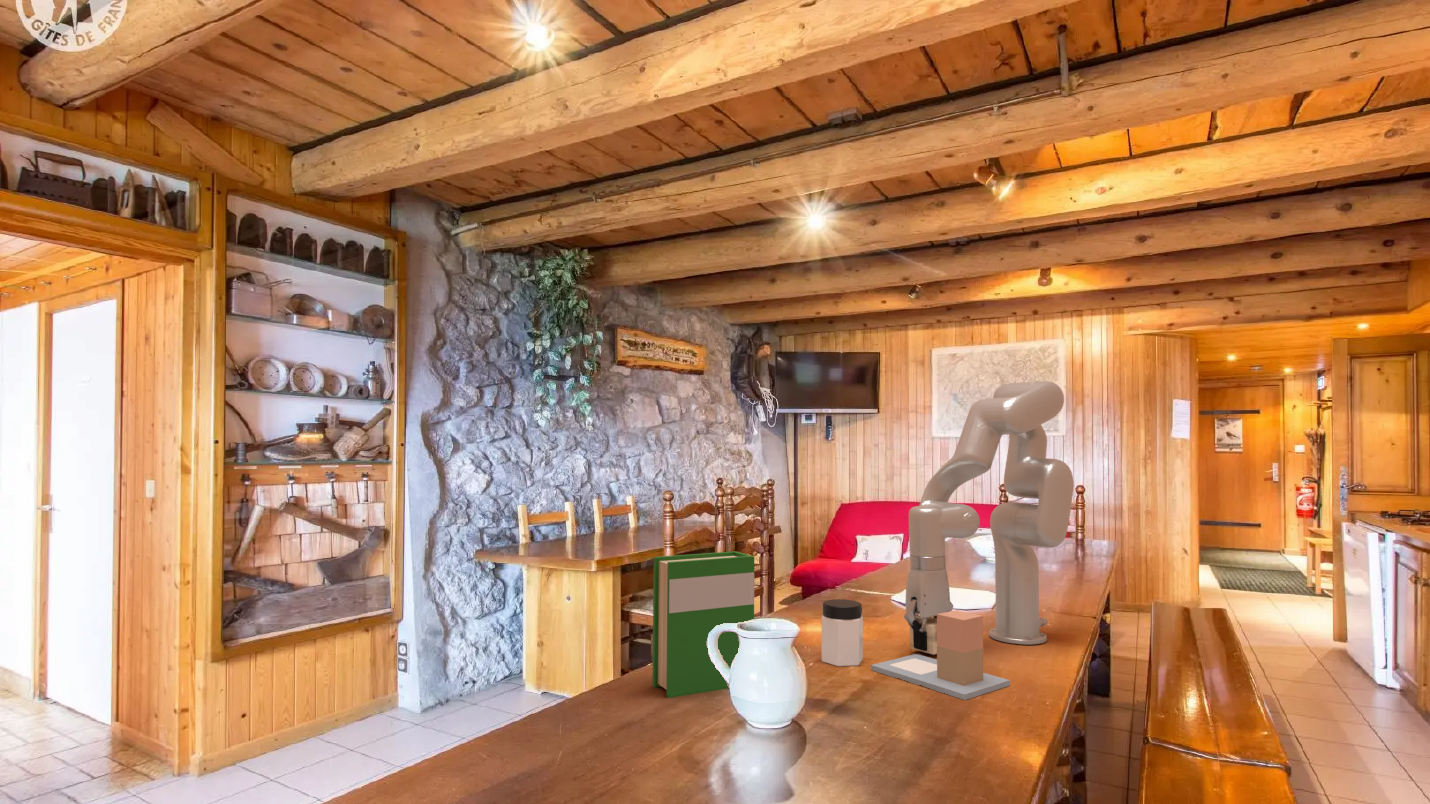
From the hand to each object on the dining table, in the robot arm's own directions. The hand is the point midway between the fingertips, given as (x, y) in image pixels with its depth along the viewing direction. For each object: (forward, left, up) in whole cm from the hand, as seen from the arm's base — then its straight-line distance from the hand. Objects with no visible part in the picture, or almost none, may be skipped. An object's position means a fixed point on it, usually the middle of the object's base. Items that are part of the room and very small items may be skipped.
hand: (930, 645), depth 168 cm
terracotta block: (+13, +17, +5) cm, 22 cm away
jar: (+20, -7, -2) cm, 21 cm away
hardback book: (+53, -11, -2) cm, 54 cm away
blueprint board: (+13, +12, -2) cm, 18 cm away
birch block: (0, 0, -1) cm, 1 cm away
